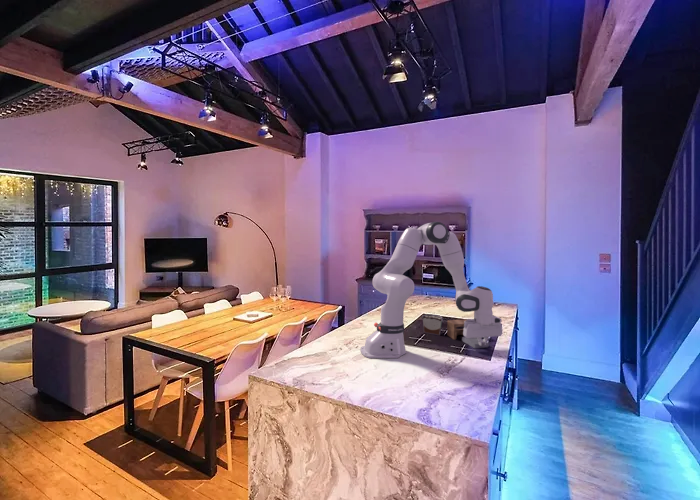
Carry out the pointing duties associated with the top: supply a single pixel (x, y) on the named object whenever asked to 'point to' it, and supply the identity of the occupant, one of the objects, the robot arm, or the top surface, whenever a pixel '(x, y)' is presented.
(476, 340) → the slate tile
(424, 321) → the food container
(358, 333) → the top surface
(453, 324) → the walnut shelf
